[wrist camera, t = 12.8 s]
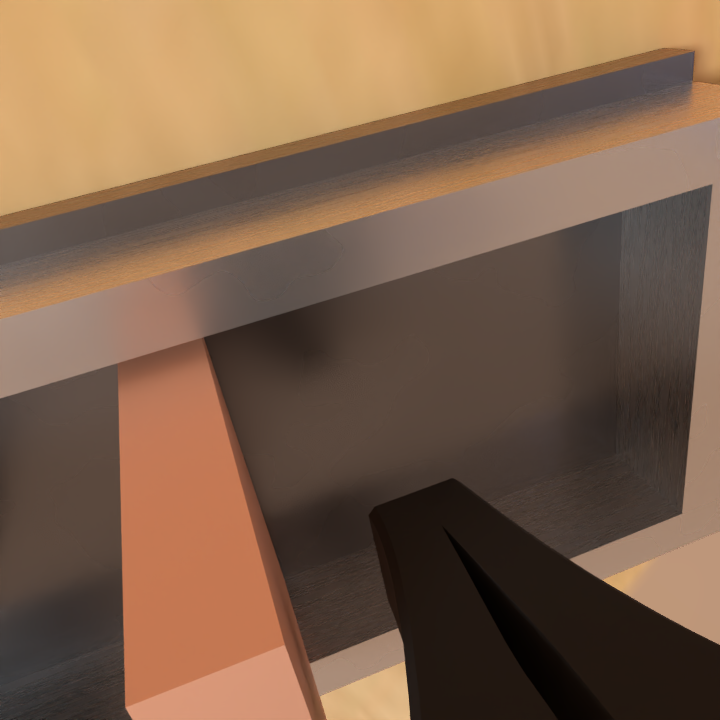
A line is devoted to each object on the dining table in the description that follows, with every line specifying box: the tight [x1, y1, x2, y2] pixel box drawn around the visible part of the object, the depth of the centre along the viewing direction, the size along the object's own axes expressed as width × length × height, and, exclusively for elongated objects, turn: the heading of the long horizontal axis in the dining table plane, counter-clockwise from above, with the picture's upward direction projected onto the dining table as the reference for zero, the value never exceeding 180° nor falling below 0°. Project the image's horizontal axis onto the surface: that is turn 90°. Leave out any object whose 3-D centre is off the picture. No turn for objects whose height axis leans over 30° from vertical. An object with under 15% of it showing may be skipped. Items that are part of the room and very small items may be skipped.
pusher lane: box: [0, 48, 720, 720], centre depth 11 cm, size 22×10×5 cm, turn 100°
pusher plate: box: [118, 337, 327, 720], centre depth 10 cm, size 1×6×7 cm, turn 10°
